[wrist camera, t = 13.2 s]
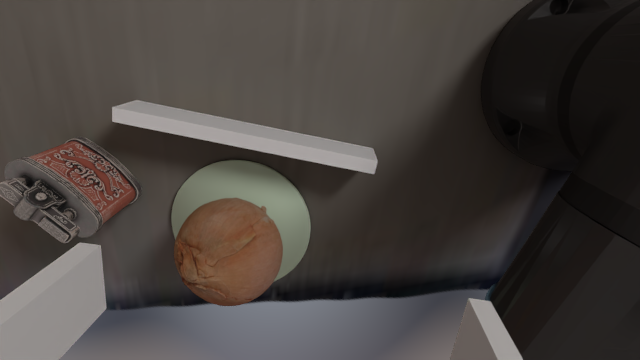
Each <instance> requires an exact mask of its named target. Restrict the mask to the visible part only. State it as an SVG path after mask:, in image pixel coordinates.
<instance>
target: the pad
mask: <svg viewBox="0 0 640 360" xmlns="http://www.w3.org/2000/svg"><path fill="white" fill-rule="evenodd" d="M223 198H239V199H242V200H246V201H249V202H251V203H253V204H255V205H257V206H258V207H260V208H261V206H265V207H266V209H267V210H266V214H267V215H268V216H269V217H270V218H271V219H272V220H273V221H274V223H275V224H276V226H277V228H278V230H279V233H280V236H281V239H282V244H283V256H282V263H281V267H280V270H279V272H278V275H277V277H276V278H275V280H274V281H276V280H278V279H280V278H282V277H283V276H285V275H287V274H288V273H289V272H290V271H292V270H293V269H294V268H295V267H296V266H297V264H298V263H299V262H300V261H301V259H302V258H303V256H304V254H305V252H306V250H307V247H308V244H309V239H310V232H311V222H310V216H309V212H308V208H307V205H306V203H305V201H304V199H303V197H302V196H301V194H300V192H299V191H298V190H297V188H296V187H295V186H294V185H293V184H292V183H291V182H290V181H289V180H288V179H287V178H286V177H285V176H283V175H282V174H280V173H279V172H277V171H276V170H274V169H272V168H270V167H268V166H265V165H263V164H260V163H257V162H253V161H247V160H224V161H220V162H216V163H212V164H210V165H207V166H205V167H203V168H202V169H200V170H198V171H197V172H195V173H194V174H193V175H192V176H191V177H189V178H188V180H187V181H186V182H185V183H184V184H183V185H182V187H181V188H180V190H179V191H178V193H177V195H176V197H175V200H174V203H173V207H172V214H171V223H172V229H173V233H174V237H175V240H176V237H177V235H178V232H179V230H180V228H181V226H182V224H183V223H184V222H185V220H186V219H187V217H188V216H189V215H190V214H191V213H192V212H193V211H194V210H196V209H197V208H198V207H200V206H202V205H204V204H206V203H209V202H211V201H215V200H218V199H223ZM274 281H273V282H274Z"/></svg>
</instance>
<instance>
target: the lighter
mask: <svg viewBox="0 0 640 360" xmlns="http://www.w3.org/2000/svg"><path fill="white" fill-rule="evenodd" d="M4 175H5V178H6V181H3V182H1V183H0V196H1V197H3V198H4V199H5V200H7V201H8V202H9V203H11V204H12V205H13V207H14V210H13V212H14V214H15V215H16V216H17V217H18V218H20V219H22V220H26V221H27V220H30V221H35V222H36V223H37V224H38V225H39V226H40V227H42V228H43V229H44V230H45V231H47V232H48V233H49V234H51V235H52V236H53V237H55V238H56V239H57V240H59V241H60V242H63V243H68V242H69V241H70V240H72V239H73V238H74V237H76V236H79V237H89V236H92V235H93V234H94V233H96V232H97V231H98V230H99V229H100V228H101V227H102V225H103V223H105V222H106V221H107V220H109V219H110V218H111V217H112V216H114V215H115V214H116V213H117V212H119V211H120V210H121V209H122V208H124V207H125V206H126V205H128V204H131V203H133V202H134V201H136V200H137V199H138V198H139V197H140V196H141V194H142V186H141V184H140V183H139V182H138V180H137V179H136V178H135V177H134V176H133V175H132V174H131V172H130V171H129V170H128V169H127V168H126V167H125V166H124V165H123V164H121V163H120V162H119V161H118V160H117V159H116V158H115V157H114V156H112V155H111V154H110V153H108V152H107V151H106V150H104V149H103V148H102V147H100V146H98V145H97V144H95V143H93V142H92V141H90V140H88V139H87V138H84V137H76V138H73V139H70V140H68V141H67V142H65V144H63V145H60V146H57V147H55V148H52V149H49V150H47V151H44V152H41V153H39V154H36V155H34V156H31V157H22V158H19V159H16V160H14V161H11V162H9V163H8V164H7V165H6V168H5V172H4Z"/></svg>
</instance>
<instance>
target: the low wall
mask: <svg viewBox="0 0 640 360" xmlns="http://www.w3.org/2000/svg"><path fill="white" fill-rule="evenodd" d="M112 122H117V123H122V124H127V125H131V126H136V127H141V128H146V129H151V130H156V131H161V132H166V133H171V134H176V135H181V136H186V137H191V138H196V139H201V140H206V141H211V142H216V143H221V144H226V145H231V146H236V147H241V148H246V149H251V150H256V151H261V152H266V153H271V154H276V155H280V156H285V157H290V158H295V159H300V160H305V161H310V162H315V163H320V164H325V165H330V166H335V167H340V168H345V169H350V170H355V171H360V172H365V173H370V174H375V170H376V166H377V162H378V160H377V157H376V155H375V152H374V149H373V148H370V147H365V146H360V145H355V144H350V143H345V142H340V141H335V140H331V139H326V138H321V137H316V136H311V135H306V134H301V133H296V132H291V131H286V130H281V129H277V128H272V127H267V126H262V125H257V124H252V123H247V122H242V121H237V120H232V119H228V118H223V117H218V116H213V115H208V114H203V113H198V112H193V111H188V110H183V109H178V108H174V107H169V106H164V105H159V104H154V103H149V102H144V101H139V100H135V101H132V102H128V103H125V104H122V105H118V106H115V107H112Z"/></svg>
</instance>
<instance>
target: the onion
mask: <svg viewBox="0 0 640 360" xmlns="http://www.w3.org/2000/svg"><path fill="white" fill-rule="evenodd" d="M266 210H267V209H266V207H265V206H261V208H260V207H258V206H257V205H255V204H253V203H251V202H249V201H246V200H242V199H239V198H223V199H218V200H215V201H211V202H209V203H206V204H204V205H202V206H200V207H198V208H197V209H196V210H194V211H193V212H192V213H191V214H190V215H189V216H188V217H187V219H186V220H185V222H184V223H183V224H182V226H181V228H180V230H179V232H178V235H177V237H176V240H175V245H174V259H175V264H176V267H177V269H178V272H179V274H180V276H181V278H182V281H183V282H184V283H185V285H187V287H188V288H189V289H191V290H192V292H193V293H195V294H196V295H197V296H199V297H201V298H202V299H204V300H206V301H208V302H211V303H213V304H217V305H222V306H236V305H241V304H244V303H248V302H250V301H252V300H254V299H255V298H257V297H258V296H260V295H261V294H263V293H264V292H265V291H266V290H267V289H268V288H269V287H270V286H271V284H272V283H273V281H274V280H275V278H276V277H277V275H278V272H279V270H280V267H281V263H282V256H283V244H282V239H281V236H280V233H279V230H278V228H277V226H276V224H275V223H274V221H273V220H272V219H271V218H270V217H269V216H268V215H267V214H266Z"/></svg>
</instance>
